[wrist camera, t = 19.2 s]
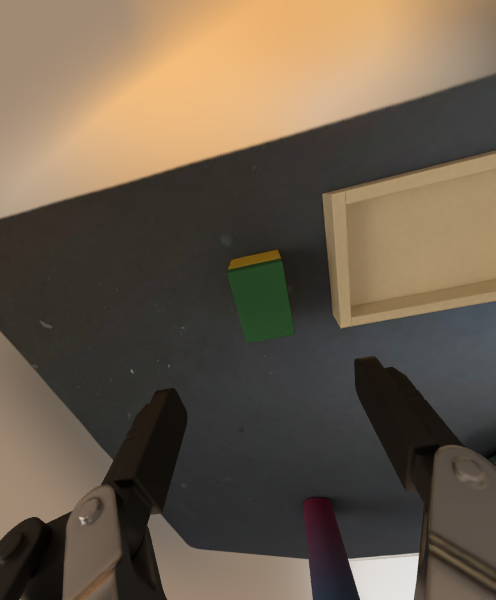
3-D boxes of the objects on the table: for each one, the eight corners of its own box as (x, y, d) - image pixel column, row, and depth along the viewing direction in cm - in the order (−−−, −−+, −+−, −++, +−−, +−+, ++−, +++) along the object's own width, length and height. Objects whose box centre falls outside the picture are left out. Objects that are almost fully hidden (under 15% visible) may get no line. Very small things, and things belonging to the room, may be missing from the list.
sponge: (289, 313, 24) (295, 334, 21) (247, 320, 25) (246, 343, 21) (277, 249, 21) (282, 261, 18) (231, 259, 22) (226, 273, 18)
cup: (304, 491, 39) (330, 650, 26) (342, 497, 40) (387, 655, 26) (293, 511, 42) (311, 662, 29) (328, 515, 42) (363, 667, 29)
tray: (332, 315, 24) (341, 328, 22) (321, 193, 19) (331, 193, 17) (499, 284, 22) (528, 295, 20) (536, 140, 17) (580, 132, 15)
